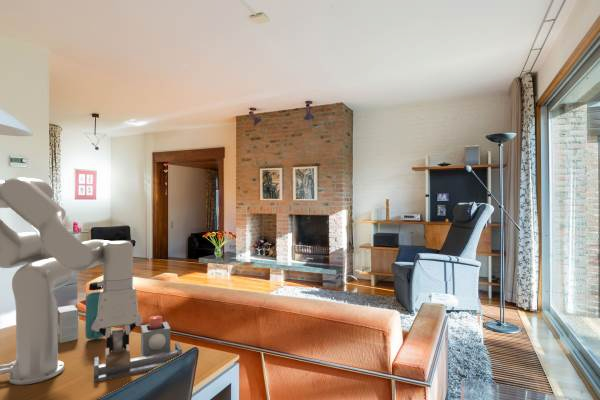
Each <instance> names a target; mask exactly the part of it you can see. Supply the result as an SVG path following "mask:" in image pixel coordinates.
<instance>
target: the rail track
mask: <svg viewBox="0 0 600 400" xmlns="http://www.w3.org/2000/svg"><path fill="white" fill-rule="evenodd" d="M181 354H182V355H183V349H182V347H181V345H180V342H175V343H174V350H170V351H168V352H163V353H158V354H153V355H148V356H142V355H141V356H137V357H133V358H130V364H129V365H124V366H119V367H114V368H109V369H106V363H101V364H99V363H100V359H99V356H96V357H94V363H93V364H94V365H93V369H94V371H93V373H94V374H93V375H94V376H93V383H98V382H97V381H99V382H102V381H101V380H104V381H107V380H106V379H109V380H111V379H110V378H113V379H118V378H121V377H127V376H131V375H136V374H140V373H141V374H142V373H145V372H151V371H153V370H152V369H154V368H156V367H158V366H160V365H162V364H164V363H166V362H167V361H169V360H171V359H173V358H175V357H177V356H179V355H181ZM117 377H118V378H117Z"/></svg>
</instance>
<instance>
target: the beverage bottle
mask: <svg viewBox="0 0 600 400" xmlns="http://www.w3.org/2000/svg"><path fill="white" fill-rule="evenodd" d="M98 282H99V281H95V282H91V283H89V285H88V287H89V288H88V290H89V291H92V292H89V293H87V294H86V296H85V323H84V324H85V325H84V326H85V328H84V333H85V339H87V340H96V339H101V338H103V337H105V336H104V335H103V334H101V333H100V332H97V331H94V330H92V329H91V327H92V325H93V323H94V321H95V320H96V318H97V316H98V302H99V295H100V291H101V290H103V288H102V287H97V283H98ZM99 290H100V291H99ZM105 329H106V328H105Z"/></svg>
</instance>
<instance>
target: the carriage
mask: <svg viewBox="0 0 600 400" xmlns="http://www.w3.org/2000/svg"><path fill="white" fill-rule="evenodd" d="M124 330H125V328H122V327H118V328H113V329H111V335H112V351H111V352H109V348H105V364H106V369H109V368H114V367H119V366H124V365H129V364H130V359H131V349H130V346H129V345H130V344H128V345H127V348H126V349H124Z"/></svg>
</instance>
